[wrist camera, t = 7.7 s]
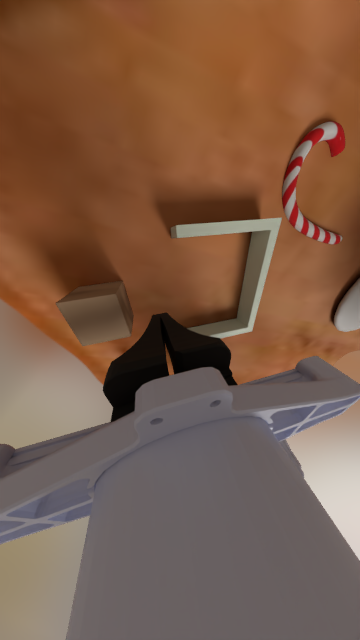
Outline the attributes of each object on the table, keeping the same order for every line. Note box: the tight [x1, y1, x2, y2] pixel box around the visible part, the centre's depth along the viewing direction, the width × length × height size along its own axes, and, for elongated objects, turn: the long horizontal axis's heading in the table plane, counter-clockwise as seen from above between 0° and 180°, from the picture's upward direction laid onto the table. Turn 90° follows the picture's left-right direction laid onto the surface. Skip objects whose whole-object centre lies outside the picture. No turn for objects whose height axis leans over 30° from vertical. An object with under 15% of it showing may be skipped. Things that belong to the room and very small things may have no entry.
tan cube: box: [56, 281, 134, 346], centre depth 15 cm, size 5×5×5 cm
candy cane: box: [282, 121, 345, 244], centre depth 17 cm, size 8×1×15 cm
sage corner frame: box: [171, 218, 282, 338], centre depth 18 cm, size 15×12×3 cm
